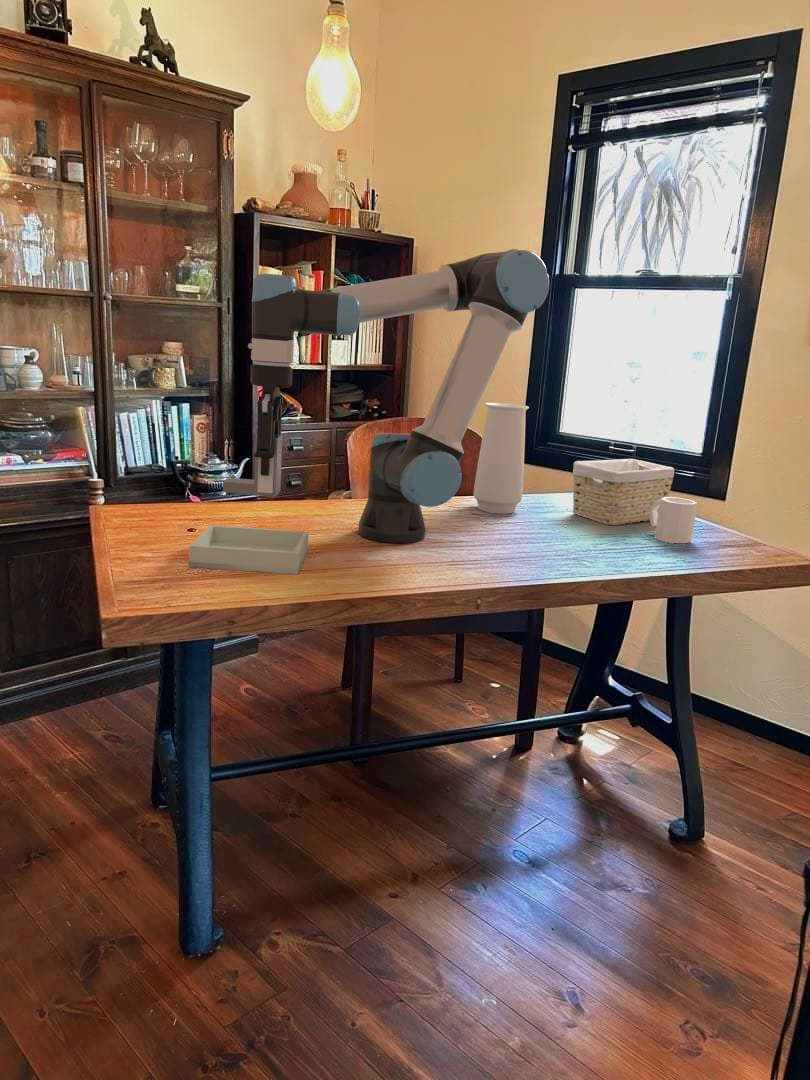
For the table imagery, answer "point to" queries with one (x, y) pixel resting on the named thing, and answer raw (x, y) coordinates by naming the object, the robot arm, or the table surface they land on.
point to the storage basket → (619, 489)
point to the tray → (249, 549)
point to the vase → (501, 459)
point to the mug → (673, 519)
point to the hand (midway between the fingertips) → (268, 488)
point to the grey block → (252, 485)
